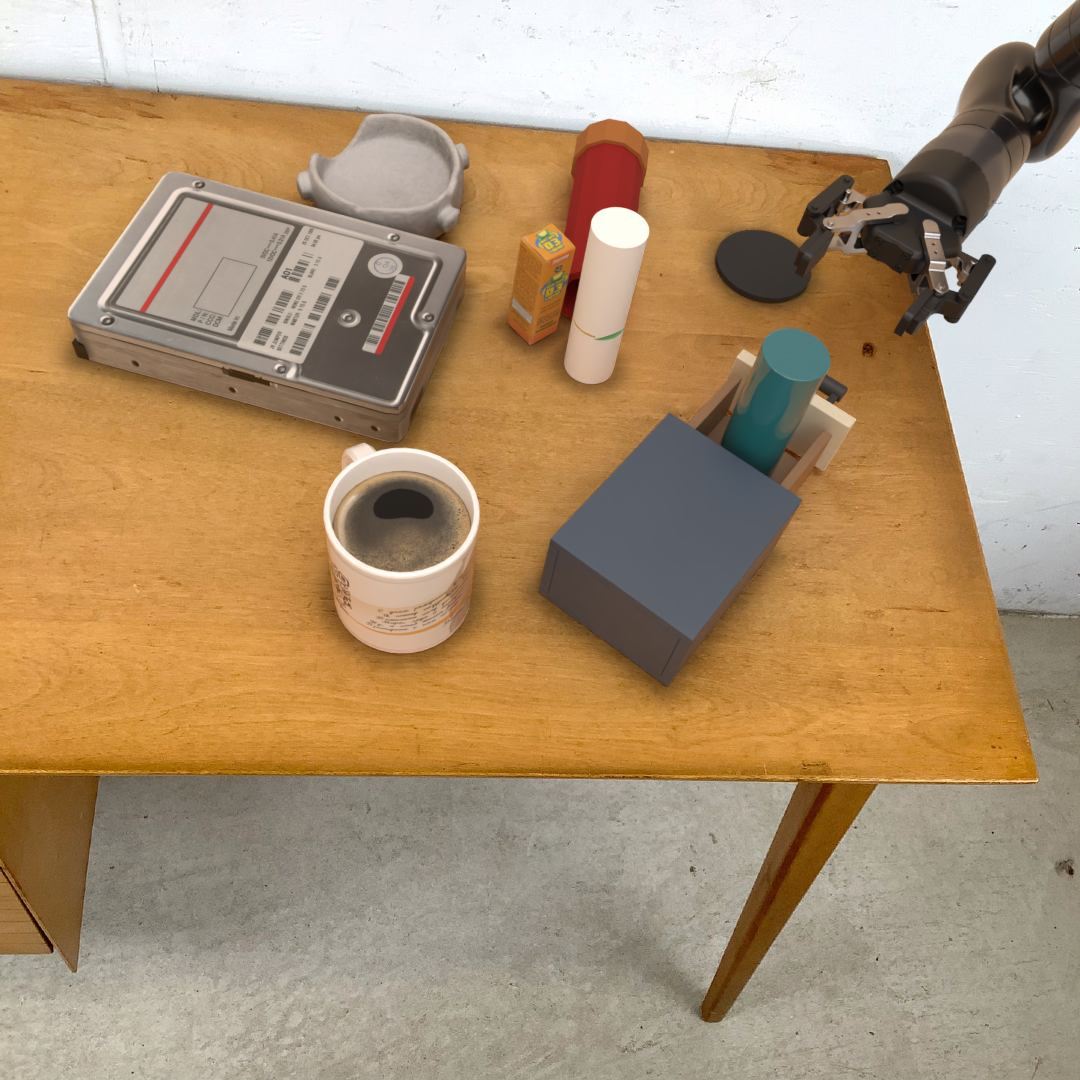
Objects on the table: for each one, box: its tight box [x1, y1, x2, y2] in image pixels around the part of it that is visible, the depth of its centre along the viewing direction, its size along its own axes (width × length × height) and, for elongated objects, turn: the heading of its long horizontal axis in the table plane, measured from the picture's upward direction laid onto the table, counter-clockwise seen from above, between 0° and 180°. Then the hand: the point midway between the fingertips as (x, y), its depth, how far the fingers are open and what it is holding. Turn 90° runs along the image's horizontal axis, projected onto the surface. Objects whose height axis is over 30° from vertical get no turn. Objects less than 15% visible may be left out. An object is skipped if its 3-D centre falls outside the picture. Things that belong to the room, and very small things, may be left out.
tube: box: [563, 207, 650, 385], centre depth 80 cm, size 4×4×15 cm
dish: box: [295, 112, 471, 240], centre depth 92 cm, size 14×14×5 cm
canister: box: [719, 327, 832, 479], centre depth 74 cm, size 5×5×13 cm
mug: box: [322, 442, 481, 654], centre depth 69 cm, size 10×12×11 cm
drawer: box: [687, 348, 857, 495], centre depth 79 cm, size 18×10×6 cm, turn 142°
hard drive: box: [67, 170, 468, 443], centre depth 83 cm, size 18×27×4 cm
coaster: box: [714, 229, 812, 304], centre depth 95 cm, size 9×9×1 cm
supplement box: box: [507, 223, 575, 346], centre depth 83 cm, size 3×3×10 cm
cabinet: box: [538, 412, 803, 688], centre depth 73 cm, size 15×12×8 cm
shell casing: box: [560, 118, 650, 320], centre depth 91 cm, size 7×20×7 cm, turn 172°
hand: (851, 297), depth 74 cm, fingers open, 8 cm apart
